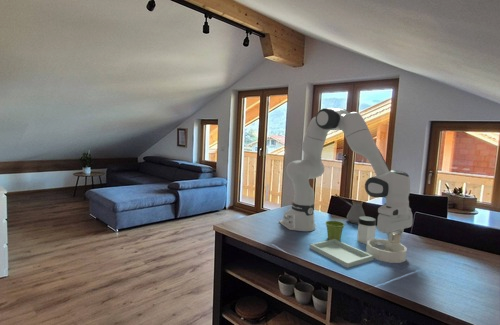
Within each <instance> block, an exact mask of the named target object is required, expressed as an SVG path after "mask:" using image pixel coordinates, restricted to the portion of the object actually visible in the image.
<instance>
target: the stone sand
mask: <svg viewBox="0 0 500 325" xmlns="http://www.w3.org/2000/svg"><path fill="white" fill-rule="evenodd" d="M392 237H394V238H393V241H389V242H391V243H394V244H399V243H400V244H401V238H402V236H401V234H399V233H397V232H396V231H393V233H392ZM400 237H401V238H400Z"/></svg>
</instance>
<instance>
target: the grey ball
mask: <svg viewBox="0 0 500 325" xmlns="http://www.w3.org/2000/svg"><path fill="white" fill-rule="evenodd" d="M374 247H375V248H378V249H380V250H385V244H383V243H380V242H375V245H374Z"/></svg>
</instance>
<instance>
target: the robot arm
mask: <svg viewBox="0 0 500 325" xmlns="http://www.w3.org/2000/svg"><path fill="white" fill-rule="evenodd" d="M305 131H306V132H305V135H304V137H303V141H302V144H301V149H302V151H303V153H304V159H296V160H293V161H290V162H289V163H288V164H287V165H286V168H285V174H286V176H287V177H288V178H289V179H290V180H291V182H292V183H291V184H292V186H293V193H294V194H293V202H292V203H290V205H291V208H289V209H288V210H287V211H285V212H284V214H283V218H282V219H280V220H279V221H278V223H279V224H281V225H282V226H284V227H285V228H287V229H288V230H290V231H297V232H298V231H299V232H312V231H315V230H316V223H315V212H314V211H315V203H314V202H315V190H314V188H313V187H312V186H311V185H310V179H311V180H313V179H317V178H319V177H321V176H323V175H324V172H325V165H324V163H323V160H322V153H323V150H324V147H325V142H326V140H327V135H328V133H329V132H330V131H342V132H343V134H344V137H345V140H346V144H348V147H349V148H350V150H351V151H352V152H353V153H356V154H358V155H360V156H362V157H364V158H365V159H367V160H368V162H369V163H370V165H371V167H372V169H373V171H374V173H375V175H376V176H375V175H374V176H371V177H368V178H367V179H366V180H365V183H364V189H365V192H366V194H367V196H370V197H371V198H377V199H379V198H385V203H384V204H382V205H381V206H380V207H378V208H377V213H378V215H377V220H376V229H377V230H378V232H380V233H383V234H386V235H387V240H389V241H393V238H394V237H392V233H393V232H396V231H397V232H396V233H399V234H401V237H400V239H402V235H403V233H404V230H405V229H408V228H411V227H412V226H413V212H412V208H411V207H410V200H409V197H410V193H411V177H410V176H409V174H408V173H407V172H405V171H402V170H398V169H397V170H395V169H392V170H390V167H389V166H388V164H387V163H386V160H385V158H384V156H383V154H382V153H381V150H380V149H379V147H378V146H377V144H376V142H375V140H374V137H373V136H372V134H371V131H370V129H369V127H368V124H367V123H366V120H365V119H364V117H363V116H362V114H361V113H359V112H358V111H357V112H356V111H352V112H350V111H349V110H347V109H344V108H339V107H324V108H321V109H319V110H318V111H317V113H316V114H315V116H314V117H312V118H311V120H310V121H309V123H308V125H307V128H306V130H305Z"/></svg>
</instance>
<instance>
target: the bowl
mask: <svg viewBox="0 0 500 325" xmlns="http://www.w3.org/2000/svg"><path fill="white" fill-rule="evenodd" d="M375 242H380V243H383V244H385V250H380V249H378V248H375V247H374V245H375ZM365 249H366V250H365V252H366V253H368V254H371V255H373V259H375V260H378V261H380V262H384V263H391V264H392V263H393V264H401V263H403V262H406V261H407V249H408V248H407V247H406V246H405V245H404V244H402V243H401V242H400V243H399V244H394V243H391V242H389V240H388V239H387V238H386V239H385V238H375V239H371V240H368V241H367V245H366V247H365Z"/></svg>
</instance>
